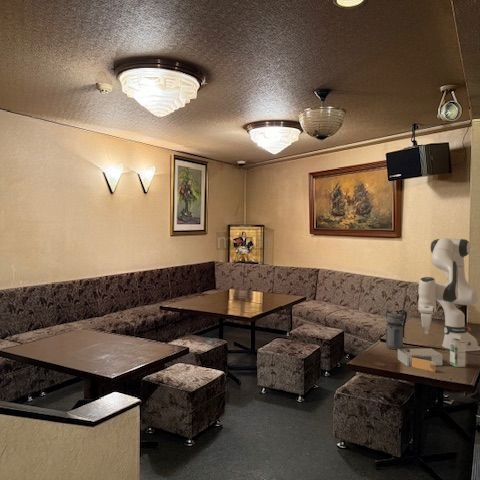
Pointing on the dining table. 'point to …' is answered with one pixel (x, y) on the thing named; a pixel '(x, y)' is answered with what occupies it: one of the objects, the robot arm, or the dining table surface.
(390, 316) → the beverage bottle
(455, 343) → the syrup box
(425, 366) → the side door
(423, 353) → the grey box
